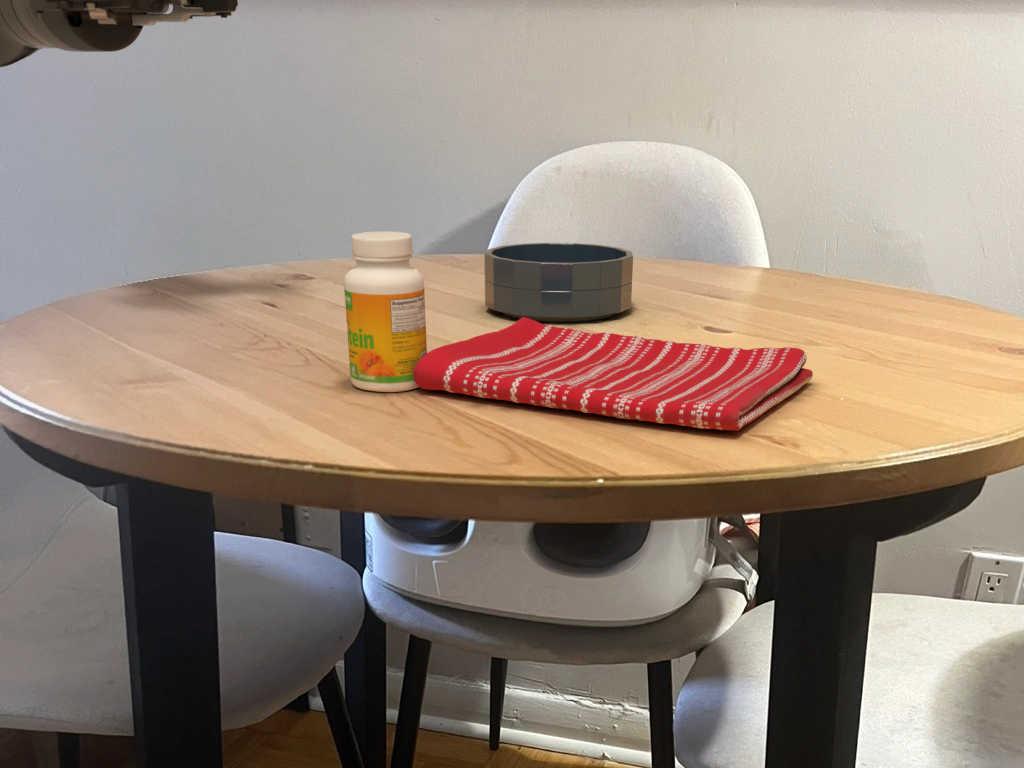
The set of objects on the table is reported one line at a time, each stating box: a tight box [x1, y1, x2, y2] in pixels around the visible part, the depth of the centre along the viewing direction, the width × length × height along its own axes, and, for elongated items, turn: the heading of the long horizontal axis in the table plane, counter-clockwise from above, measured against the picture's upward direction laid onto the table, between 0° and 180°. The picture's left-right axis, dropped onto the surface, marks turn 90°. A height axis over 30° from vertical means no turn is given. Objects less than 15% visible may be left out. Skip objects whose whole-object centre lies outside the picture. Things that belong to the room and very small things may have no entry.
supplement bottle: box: [343, 230, 428, 393], centre depth 79 cm, size 5×5×10 cm
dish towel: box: [413, 317, 814, 432], centre depth 80 cm, size 17×24×3 cm
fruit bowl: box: [484, 242, 634, 323], centre depth 104 cm, size 13×13×5 cm
